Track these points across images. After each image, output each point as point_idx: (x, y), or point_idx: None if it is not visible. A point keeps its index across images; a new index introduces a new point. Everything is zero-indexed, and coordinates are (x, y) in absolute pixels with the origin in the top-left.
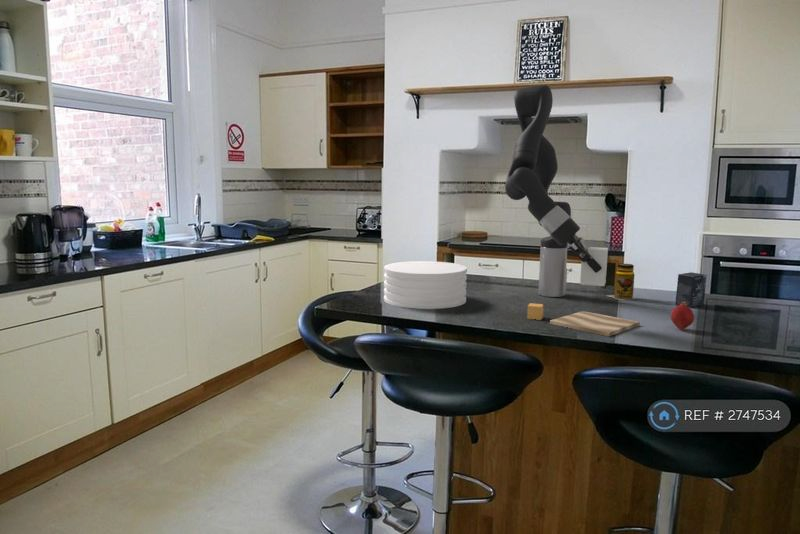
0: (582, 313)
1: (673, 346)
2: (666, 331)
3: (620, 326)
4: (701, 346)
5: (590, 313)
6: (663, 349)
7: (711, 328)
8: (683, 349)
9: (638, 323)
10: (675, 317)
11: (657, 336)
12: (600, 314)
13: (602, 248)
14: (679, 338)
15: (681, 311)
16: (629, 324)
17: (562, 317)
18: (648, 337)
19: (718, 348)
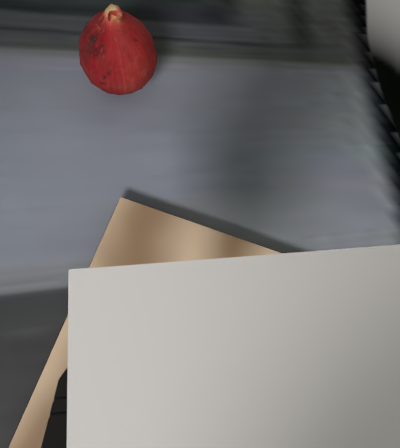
0: None
1: (337, 105)
2: (168, 123)
3: (231, 251)
4: (293, 47)
5: (46, 405)
6: (384, 126)
7: (62, 15)
8: (351, 84)
9: (130, 201)
10: (147, 72)
11: (249, 144)
12: (49, 357)
13: (216, 344)
14: (238, 91)
15: (145, 39)
16: (182, 226)
17: None
18: (277, 166)
19: (289, 15)
